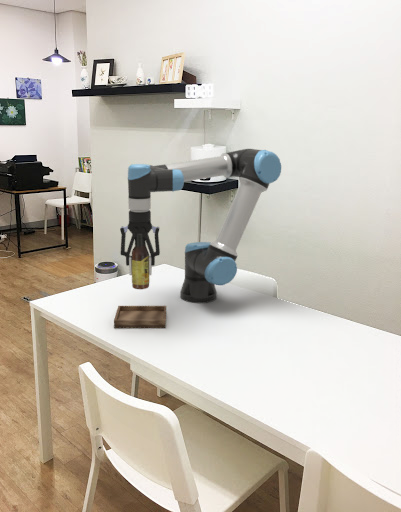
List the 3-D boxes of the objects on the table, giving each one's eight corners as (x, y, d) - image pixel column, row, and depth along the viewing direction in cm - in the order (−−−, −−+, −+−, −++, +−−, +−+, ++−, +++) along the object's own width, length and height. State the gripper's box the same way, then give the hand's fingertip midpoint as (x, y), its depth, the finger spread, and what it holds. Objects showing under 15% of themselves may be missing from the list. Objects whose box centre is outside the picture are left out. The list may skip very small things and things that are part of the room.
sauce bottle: (148, 290, 172) (147, 235, 167) (130, 290, 172) (129, 235, 167) (150, 284, 178) (150, 231, 173) (133, 284, 178) (132, 230, 173)
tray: (166, 313, 186) (166, 305, 185) (165, 328, 172) (165, 320, 172) (118, 313, 185) (118, 305, 184) (114, 328, 172) (113, 320, 171)
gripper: (167, 208, 172) (167, 271, 178) (112, 207, 171) (114, 270, 177) (167, 212, 165) (167, 277, 171) (110, 211, 164) (112, 277, 170)
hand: (140, 274), depth 174 cm, fingers closed on sauce bottle, 6 cm apart
